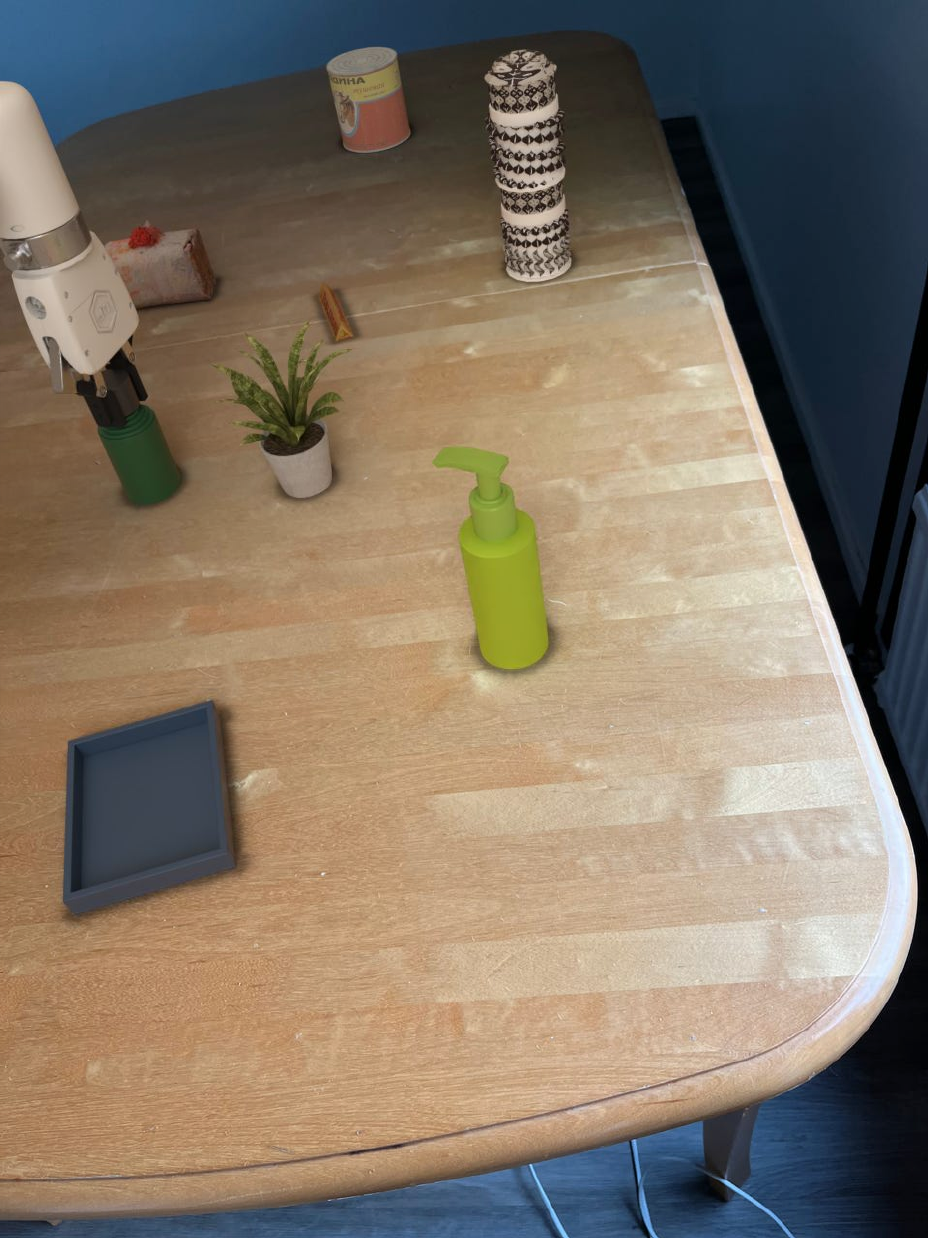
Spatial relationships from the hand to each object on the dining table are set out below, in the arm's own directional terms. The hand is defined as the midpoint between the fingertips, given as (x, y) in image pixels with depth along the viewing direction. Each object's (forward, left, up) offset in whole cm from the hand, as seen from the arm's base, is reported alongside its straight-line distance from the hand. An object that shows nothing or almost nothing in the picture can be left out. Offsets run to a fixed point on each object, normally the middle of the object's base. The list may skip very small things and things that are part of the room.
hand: (123, 410), depth 103 cm
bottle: (0, 0, -10) cm, 10 cm away
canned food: (-30, +84, -10) cm, 90 cm away
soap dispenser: (+46, -4, -10) cm, 47 cm away
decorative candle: (+17, +54, -10) cm, 58 cm away
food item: (-29, +32, -10) cm, 44 cm away
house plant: (+16, +8, -10) cm, 21 cm away
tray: (+29, -31, -10) cm, 43 cm away
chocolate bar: (-2, +35, -10) cm, 37 cm away
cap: (0, 0, 0) cm, 0 cm away
